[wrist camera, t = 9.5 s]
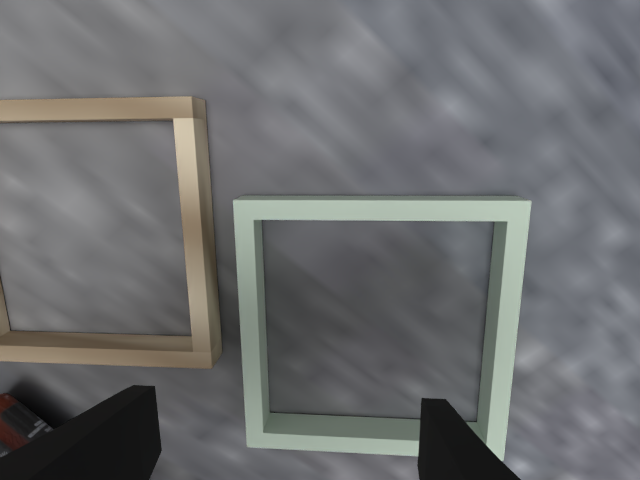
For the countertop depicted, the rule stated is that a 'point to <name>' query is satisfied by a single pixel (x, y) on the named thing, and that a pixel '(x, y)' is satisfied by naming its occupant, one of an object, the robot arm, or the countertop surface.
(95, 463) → the robot arm
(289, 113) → the countertop surface
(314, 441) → the square frame
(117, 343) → the socket collar
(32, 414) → the supplement bottle
